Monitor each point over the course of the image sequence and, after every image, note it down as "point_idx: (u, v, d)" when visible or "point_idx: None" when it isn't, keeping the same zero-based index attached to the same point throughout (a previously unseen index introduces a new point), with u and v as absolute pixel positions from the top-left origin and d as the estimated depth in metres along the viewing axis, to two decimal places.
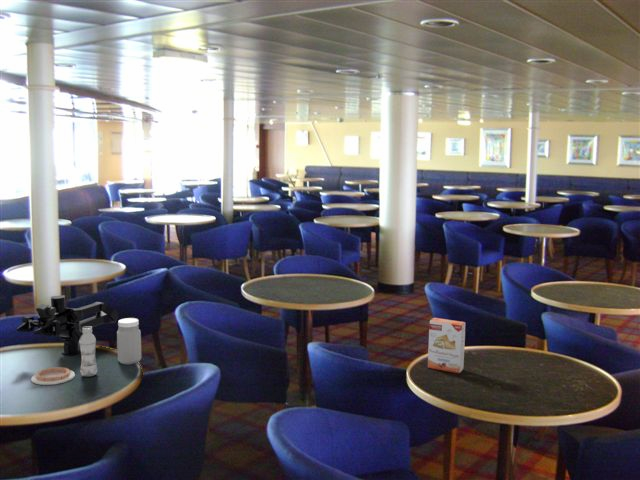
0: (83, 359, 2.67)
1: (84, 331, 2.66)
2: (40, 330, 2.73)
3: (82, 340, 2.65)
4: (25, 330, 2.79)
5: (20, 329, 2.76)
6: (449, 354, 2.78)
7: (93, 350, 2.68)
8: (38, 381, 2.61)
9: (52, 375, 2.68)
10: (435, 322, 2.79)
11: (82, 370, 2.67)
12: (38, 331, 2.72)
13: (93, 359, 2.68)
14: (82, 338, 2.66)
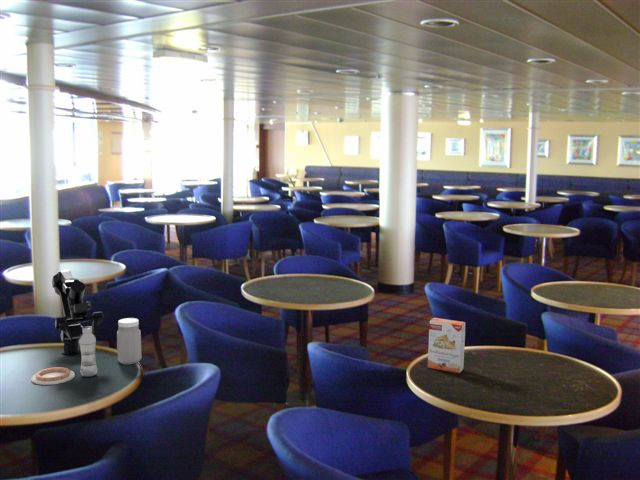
0: (83, 359, 2.67)
1: (84, 331, 2.66)
2: (95, 329, 2.78)
3: (82, 340, 2.65)
4: None
5: None
6: (449, 354, 2.78)
7: (93, 350, 2.68)
8: (38, 381, 2.61)
9: (52, 375, 2.68)
10: (435, 322, 2.79)
11: (82, 370, 2.67)
12: (95, 332, 2.78)
13: (93, 359, 2.68)
14: (82, 338, 2.66)
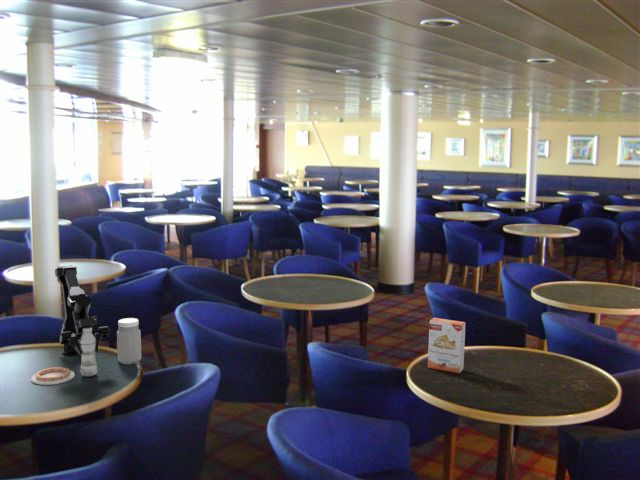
0: (83, 359, 2.67)
1: (84, 331, 2.66)
2: (97, 345, 2.71)
3: (82, 340, 2.65)
4: None
5: None
6: (449, 354, 2.78)
7: (93, 350, 2.68)
8: (38, 381, 2.61)
9: (52, 375, 2.68)
10: (435, 322, 2.79)
11: (82, 370, 2.67)
12: (97, 348, 2.71)
13: (93, 359, 2.68)
14: (82, 338, 2.66)
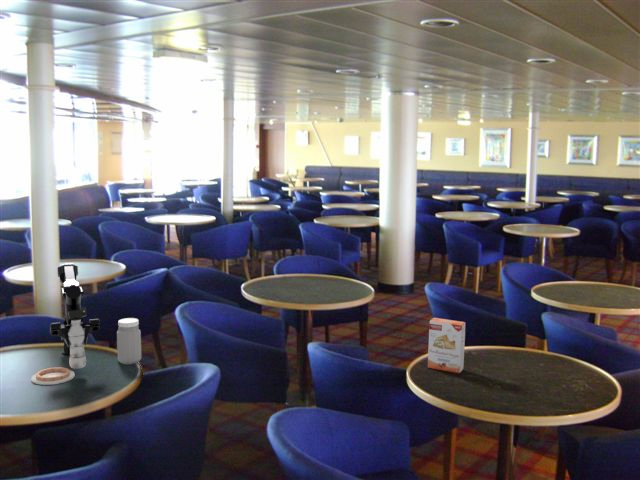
0: (71, 351, 2.65)
1: (72, 323, 2.64)
2: (86, 338, 2.69)
3: (70, 332, 2.64)
4: None
5: (68, 342, 2.66)
6: (449, 354, 2.78)
7: (81, 342, 2.66)
8: (38, 381, 2.61)
9: (52, 375, 2.68)
10: (435, 322, 2.79)
11: (70, 362, 2.66)
12: (86, 340, 2.68)
13: (81, 351, 2.66)
14: (70, 330, 2.64)
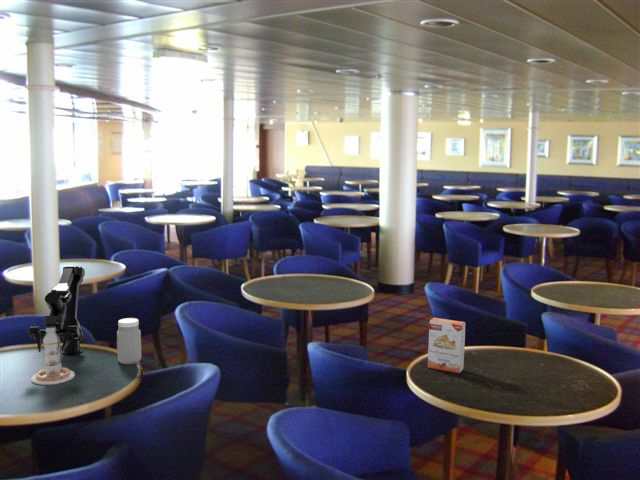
0: (45, 358, 2.65)
1: (46, 330, 2.63)
2: (65, 344, 2.66)
3: (43, 339, 2.63)
4: (41, 342, 2.68)
5: (40, 347, 2.65)
6: (449, 354, 2.78)
7: (54, 350, 2.64)
8: (38, 381, 2.61)
9: None
10: (435, 322, 2.79)
11: (44, 369, 2.65)
12: (64, 346, 2.66)
13: (55, 359, 2.65)
14: (44, 337, 2.64)
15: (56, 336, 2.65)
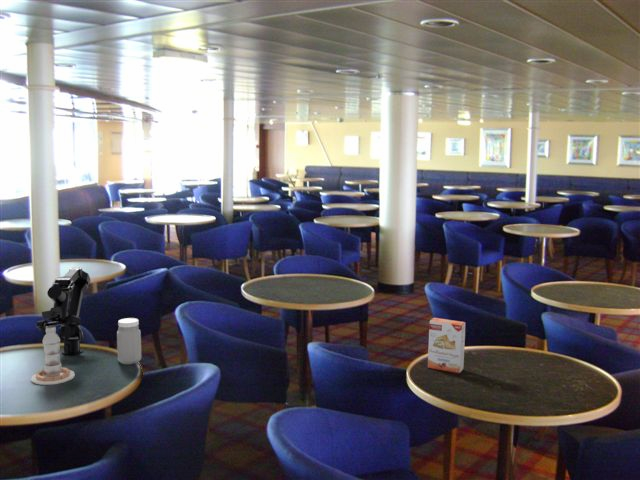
0: (45, 358, 2.65)
1: (46, 330, 2.63)
2: (67, 334, 2.74)
3: (43, 339, 2.63)
4: None
5: None
6: (449, 354, 2.78)
7: (54, 350, 2.64)
8: (38, 381, 2.61)
9: None
10: (435, 322, 2.79)
11: (44, 369, 2.65)
12: (67, 337, 2.74)
13: (55, 360, 2.65)
14: (44, 337, 2.63)
15: (56, 336, 2.65)
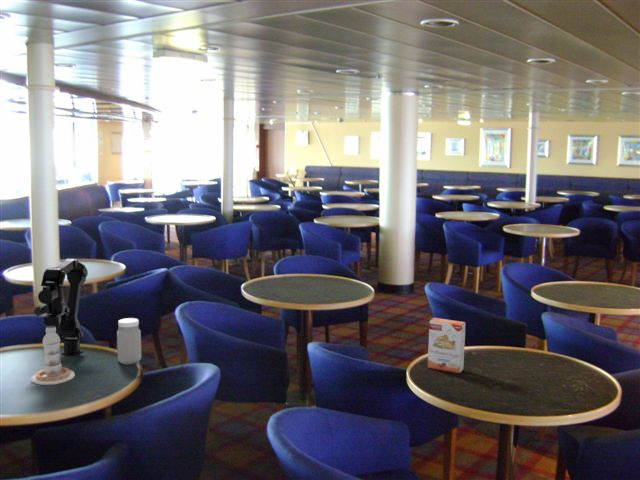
0: (45, 358, 2.65)
1: (46, 330, 2.63)
2: None
3: (43, 339, 2.63)
4: (63, 320, 2.86)
5: (60, 327, 2.85)
6: (449, 354, 2.78)
7: (54, 350, 2.64)
8: (38, 381, 2.61)
9: None
10: (435, 322, 2.79)
11: (44, 369, 2.65)
12: None
13: (55, 360, 2.65)
14: (44, 337, 2.63)
15: (56, 336, 2.65)
